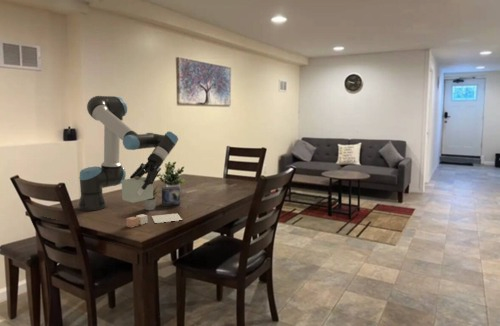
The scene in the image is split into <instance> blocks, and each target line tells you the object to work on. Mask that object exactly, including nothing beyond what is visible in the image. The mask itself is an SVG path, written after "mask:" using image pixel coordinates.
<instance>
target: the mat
mask: <svg viewBox="0 0 500 326" xmlns="http://www.w3.org/2000/svg"><path fill="white" fill-rule="evenodd" d="M151 218H152V220H153V222H154V224H155V223H157V224H164V222H166V223H172V222H171V221H175V222H180V221H179V220H183V218H182V217H181V216H180V215H179V214H178V213H167V214H157V215H156V214H155V215H151Z"/></svg>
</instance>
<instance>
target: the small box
mask: <svg viewBox="0 0 500 326" xmlns="http://www.w3.org/2000/svg"><path fill="white" fill-rule="evenodd" d="M180 194H181V192H180V187H179V186H162V187H161V206H162V207H168V206H169V207H171V206H180V205H181V199H180V197H181V195H180Z"/></svg>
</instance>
